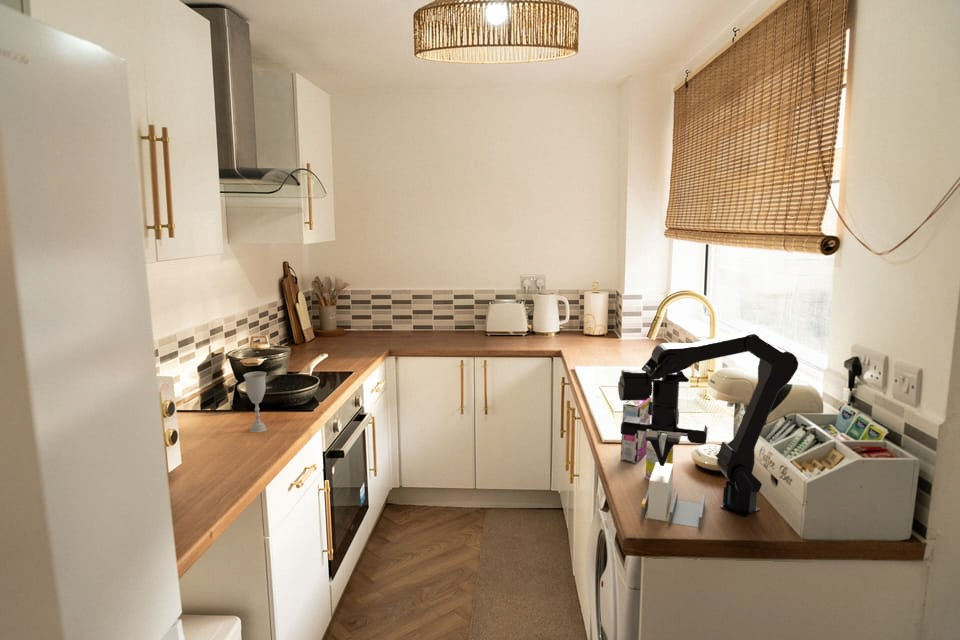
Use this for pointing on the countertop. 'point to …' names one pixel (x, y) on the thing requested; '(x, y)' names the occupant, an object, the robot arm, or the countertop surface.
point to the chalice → (256, 395)
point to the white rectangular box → (660, 491)
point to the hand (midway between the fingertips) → (662, 465)
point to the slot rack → (679, 511)
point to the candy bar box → (637, 444)
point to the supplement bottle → (655, 456)
